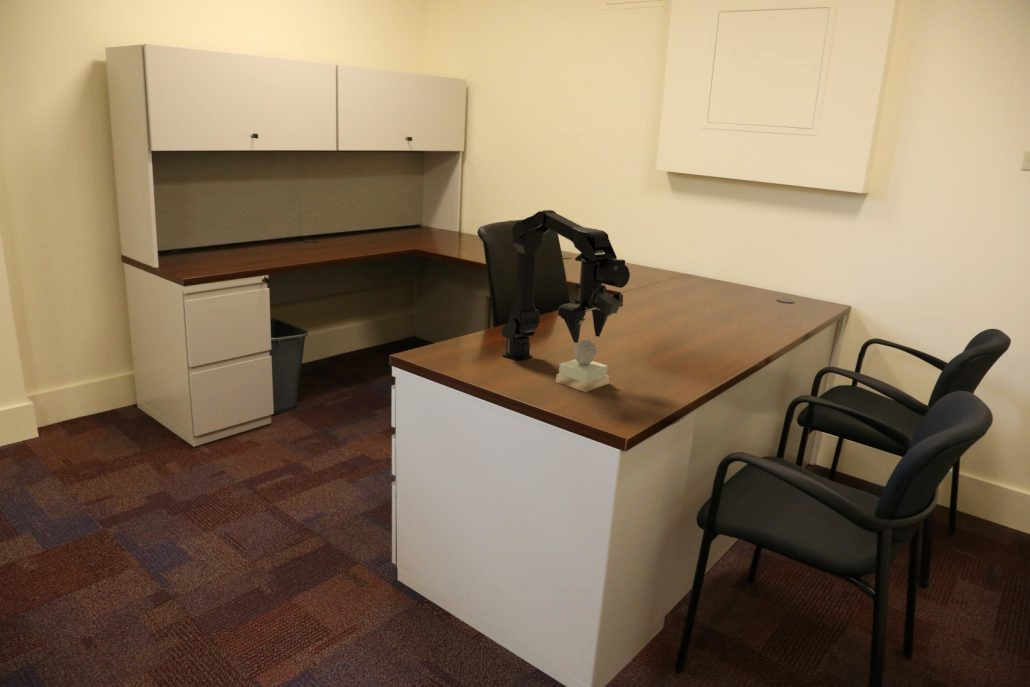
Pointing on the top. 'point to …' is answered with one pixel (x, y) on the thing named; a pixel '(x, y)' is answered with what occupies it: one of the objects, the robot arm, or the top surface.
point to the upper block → (583, 371)
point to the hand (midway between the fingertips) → (586, 339)
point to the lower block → (581, 385)
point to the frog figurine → (585, 352)
